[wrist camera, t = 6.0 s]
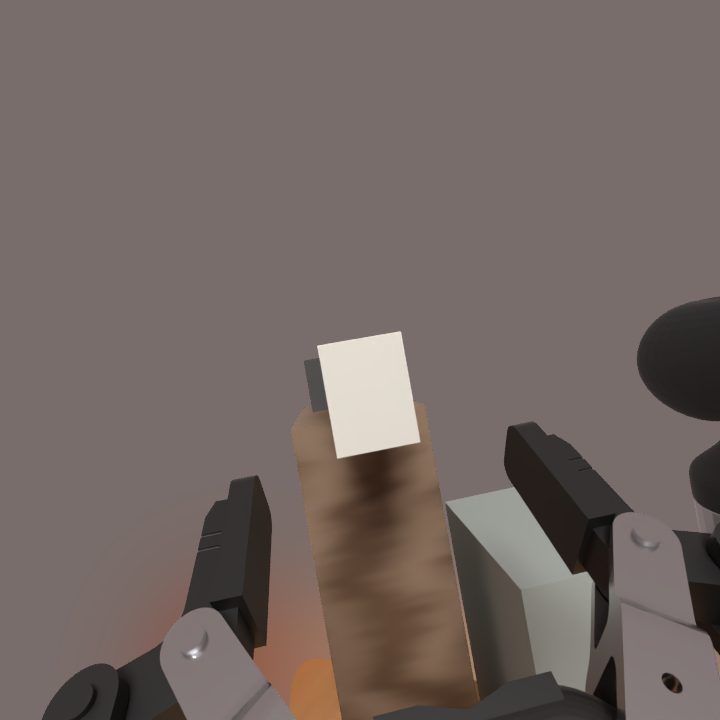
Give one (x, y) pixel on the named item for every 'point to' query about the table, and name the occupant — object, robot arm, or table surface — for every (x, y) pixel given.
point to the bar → (364, 393)
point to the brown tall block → (383, 572)
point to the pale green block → (518, 594)
